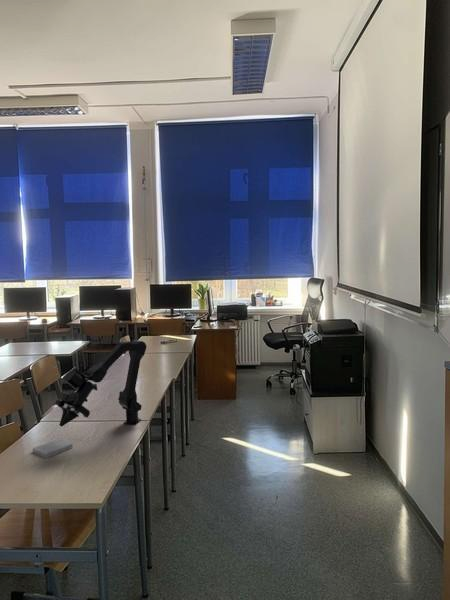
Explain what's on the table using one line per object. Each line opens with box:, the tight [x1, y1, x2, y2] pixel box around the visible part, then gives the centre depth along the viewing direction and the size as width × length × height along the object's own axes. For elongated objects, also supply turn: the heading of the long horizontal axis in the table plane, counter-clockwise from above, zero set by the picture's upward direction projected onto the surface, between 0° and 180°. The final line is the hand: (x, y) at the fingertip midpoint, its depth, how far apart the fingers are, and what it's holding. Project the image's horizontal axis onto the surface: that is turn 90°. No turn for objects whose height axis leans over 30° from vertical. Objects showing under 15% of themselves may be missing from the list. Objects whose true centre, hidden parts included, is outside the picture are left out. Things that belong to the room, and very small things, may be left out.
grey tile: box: [32, 438, 73, 459], centre depth 186 cm, size 2×10×12 cm
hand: (60, 426), depth 189 cm, fingers closed
